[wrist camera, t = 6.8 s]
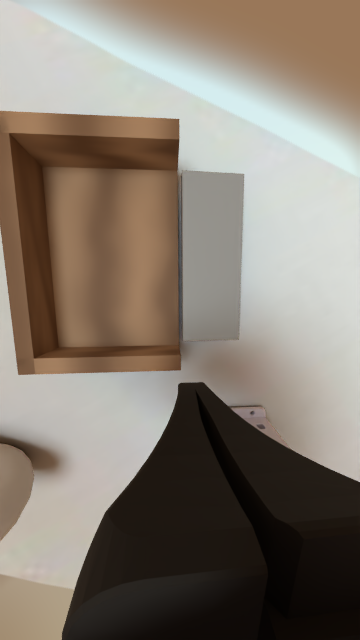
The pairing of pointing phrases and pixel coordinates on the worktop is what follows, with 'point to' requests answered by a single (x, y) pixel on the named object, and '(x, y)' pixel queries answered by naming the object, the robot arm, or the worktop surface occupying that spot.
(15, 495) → the donut
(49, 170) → the box
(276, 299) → the worktop surface
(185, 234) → the tailgate
